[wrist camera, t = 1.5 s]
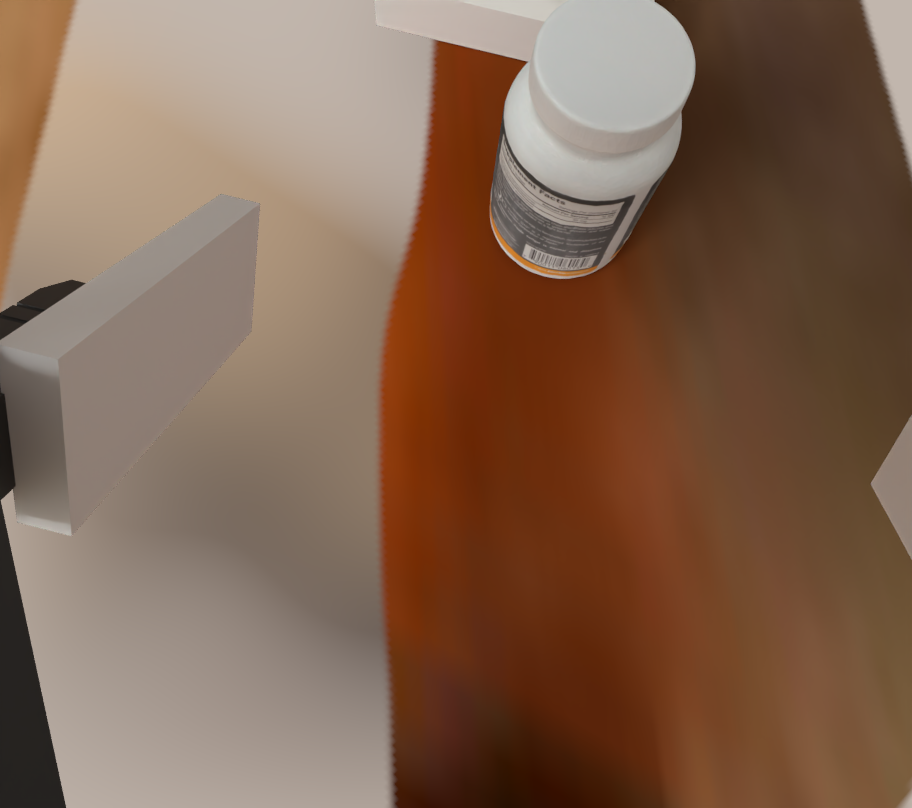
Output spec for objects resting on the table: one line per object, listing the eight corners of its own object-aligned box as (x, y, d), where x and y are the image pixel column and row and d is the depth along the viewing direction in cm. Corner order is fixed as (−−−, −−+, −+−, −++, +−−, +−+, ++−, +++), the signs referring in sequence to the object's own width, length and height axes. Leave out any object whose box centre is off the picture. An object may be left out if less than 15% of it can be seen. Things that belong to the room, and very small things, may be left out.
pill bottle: (558, 132, 33) (614, -63, 23) (656, 225, 32) (757, 64, 22) (458, 214, 32) (473, 46, 22) (557, 313, 31) (617, 184, 21)
